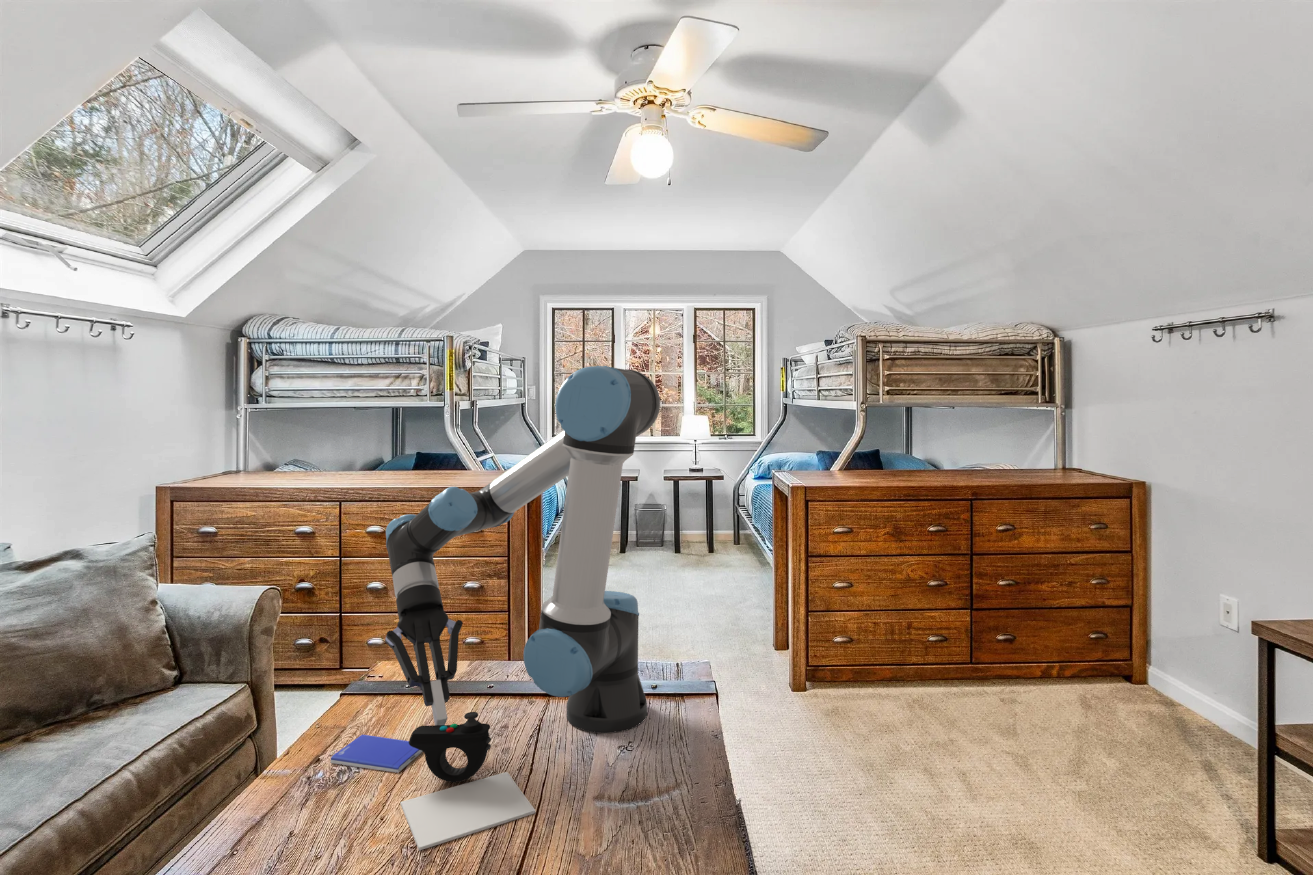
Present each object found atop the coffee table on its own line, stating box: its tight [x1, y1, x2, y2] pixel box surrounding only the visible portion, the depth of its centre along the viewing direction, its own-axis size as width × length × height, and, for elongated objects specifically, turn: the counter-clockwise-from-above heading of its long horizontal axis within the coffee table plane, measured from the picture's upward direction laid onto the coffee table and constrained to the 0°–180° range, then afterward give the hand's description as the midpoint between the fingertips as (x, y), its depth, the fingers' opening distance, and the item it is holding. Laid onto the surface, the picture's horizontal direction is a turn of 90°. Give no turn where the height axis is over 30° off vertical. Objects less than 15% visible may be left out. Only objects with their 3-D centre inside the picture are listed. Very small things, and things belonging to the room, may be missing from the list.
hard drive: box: [330, 734, 424, 773], centre depth 113 cm, size 2×8×12 cm
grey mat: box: [399, 771, 536, 851], centre depth 98 cm, size 16×12×1 cm
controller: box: [408, 711, 492, 783], centre depth 105 cm, size 4×12×10 cm, turn 87°
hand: (441, 722), depth 108 cm, fingers closed
